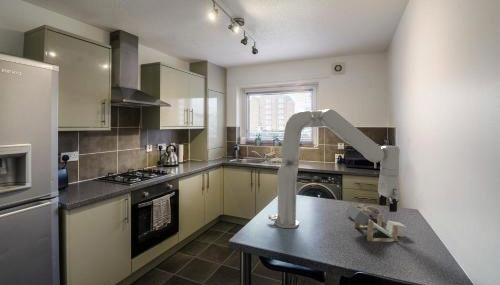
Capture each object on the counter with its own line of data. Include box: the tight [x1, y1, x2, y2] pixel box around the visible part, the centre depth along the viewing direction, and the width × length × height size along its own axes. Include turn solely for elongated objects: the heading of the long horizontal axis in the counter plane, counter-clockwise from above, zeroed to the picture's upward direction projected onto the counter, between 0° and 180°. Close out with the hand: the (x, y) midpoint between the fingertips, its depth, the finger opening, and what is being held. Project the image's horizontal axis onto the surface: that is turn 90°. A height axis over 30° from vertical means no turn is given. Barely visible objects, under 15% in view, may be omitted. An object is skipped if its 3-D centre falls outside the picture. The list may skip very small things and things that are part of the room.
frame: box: [354, 213, 399, 243], centre depth 119 cm, size 13×15×9 cm
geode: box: [346, 203, 380, 220], centre depth 141 cm, size 17×9×15 cm
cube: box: [385, 220, 407, 238], centre depth 119 cm, size 5×5×6 cm
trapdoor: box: [345, 203, 392, 238], centre depth 119 cm, size 20×12×5 cm
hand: (387, 208), depth 119 cm, fingers open, 8 cm apart
